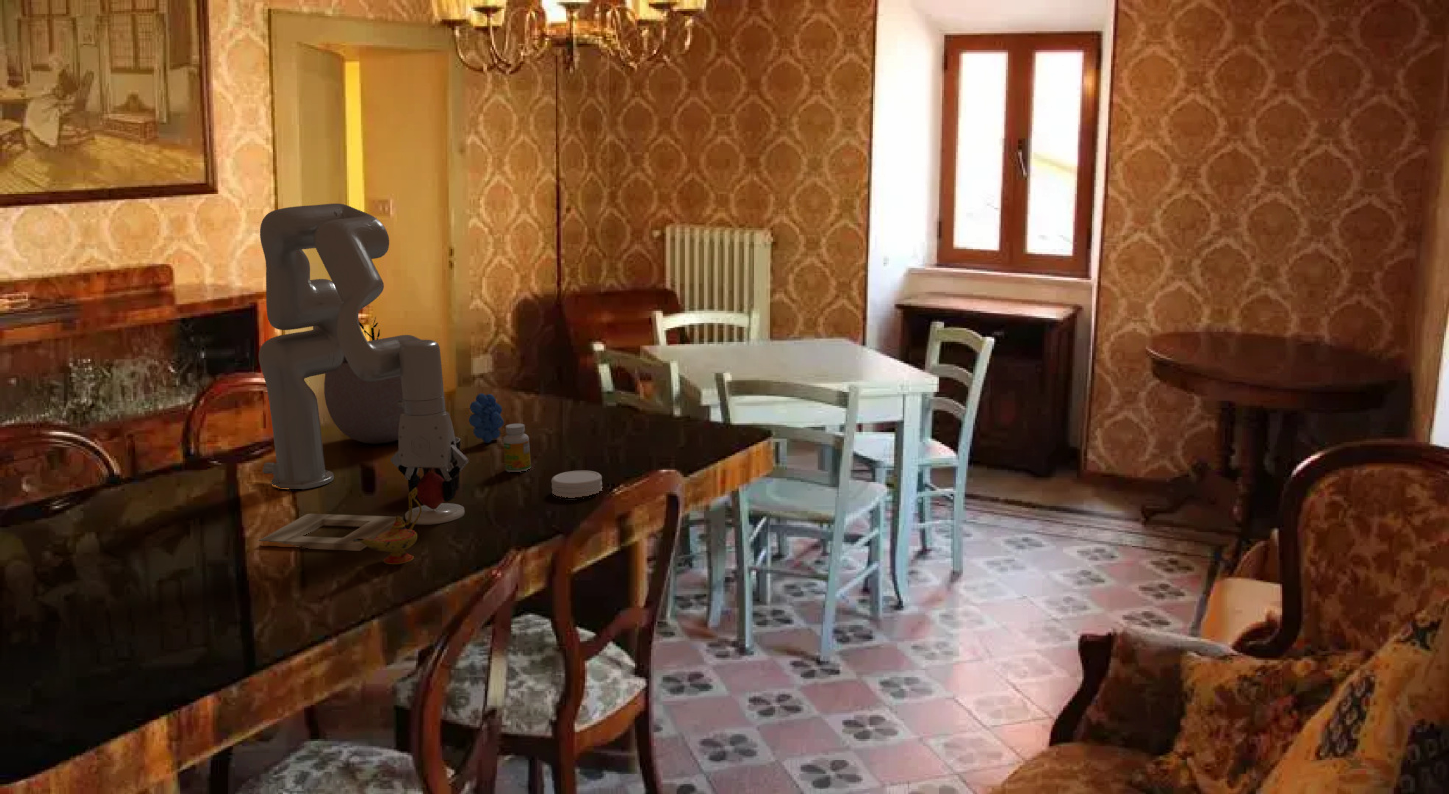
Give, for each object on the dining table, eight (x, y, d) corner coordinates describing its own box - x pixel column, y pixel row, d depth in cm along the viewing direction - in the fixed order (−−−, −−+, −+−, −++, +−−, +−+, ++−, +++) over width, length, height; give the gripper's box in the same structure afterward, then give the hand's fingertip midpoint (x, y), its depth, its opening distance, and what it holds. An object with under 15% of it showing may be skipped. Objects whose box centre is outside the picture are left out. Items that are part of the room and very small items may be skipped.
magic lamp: (341, 578, 217) (334, 514, 215) (408, 544, 233) (402, 484, 231) (374, 582, 214) (368, 517, 212) (440, 547, 230) (435, 487, 228)
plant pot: (450, 429, 321) (439, 307, 314) (406, 454, 298) (393, 323, 291) (361, 428, 326) (348, 308, 320) (310, 453, 303) (295, 324, 297)
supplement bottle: (500, 472, 279) (497, 427, 277) (514, 465, 284) (510, 422, 282) (522, 474, 277) (519, 429, 275) (535, 467, 282) (532, 423, 279)
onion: (422, 515, 246) (419, 474, 244) (414, 507, 251) (411, 467, 249) (452, 510, 248) (450, 470, 247) (444, 503, 253) (441, 462, 252)
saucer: (394, 523, 246) (394, 518, 246) (422, 506, 256) (421, 501, 256) (448, 525, 243) (448, 520, 243) (474, 508, 253) (473, 503, 253)
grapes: (488, 450, 298) (484, 398, 296) (464, 448, 301) (460, 396, 299) (518, 438, 309) (514, 388, 306) (494, 436, 311) (490, 386, 309)
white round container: (613, 491, 261) (612, 474, 261) (575, 503, 254) (573, 486, 254) (579, 483, 268) (578, 467, 267) (542, 495, 261) (540, 478, 260)
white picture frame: (259, 546, 236) (259, 540, 236) (308, 519, 251) (307, 513, 251) (360, 550, 231) (359, 544, 231) (403, 523, 246) (402, 516, 246)
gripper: (372, 410, 244) (382, 503, 248) (458, 411, 240) (466, 506, 243) (392, 401, 251) (401, 492, 255) (475, 402, 247) (483, 494, 250)
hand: (432, 498), depth 249 cm, fingers open, 6 cm apart
